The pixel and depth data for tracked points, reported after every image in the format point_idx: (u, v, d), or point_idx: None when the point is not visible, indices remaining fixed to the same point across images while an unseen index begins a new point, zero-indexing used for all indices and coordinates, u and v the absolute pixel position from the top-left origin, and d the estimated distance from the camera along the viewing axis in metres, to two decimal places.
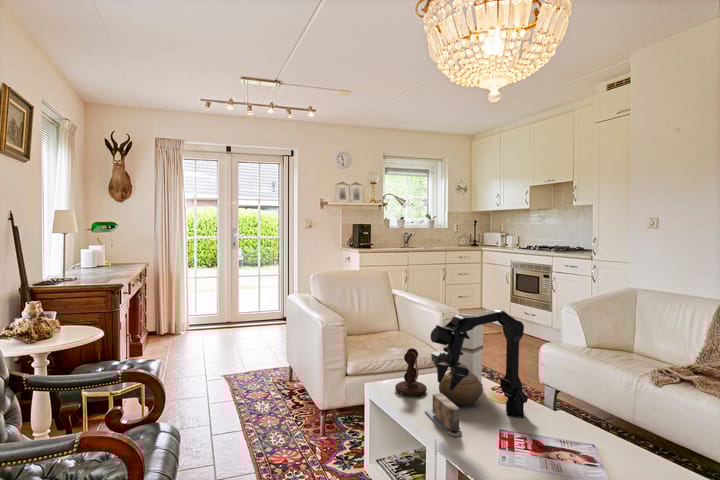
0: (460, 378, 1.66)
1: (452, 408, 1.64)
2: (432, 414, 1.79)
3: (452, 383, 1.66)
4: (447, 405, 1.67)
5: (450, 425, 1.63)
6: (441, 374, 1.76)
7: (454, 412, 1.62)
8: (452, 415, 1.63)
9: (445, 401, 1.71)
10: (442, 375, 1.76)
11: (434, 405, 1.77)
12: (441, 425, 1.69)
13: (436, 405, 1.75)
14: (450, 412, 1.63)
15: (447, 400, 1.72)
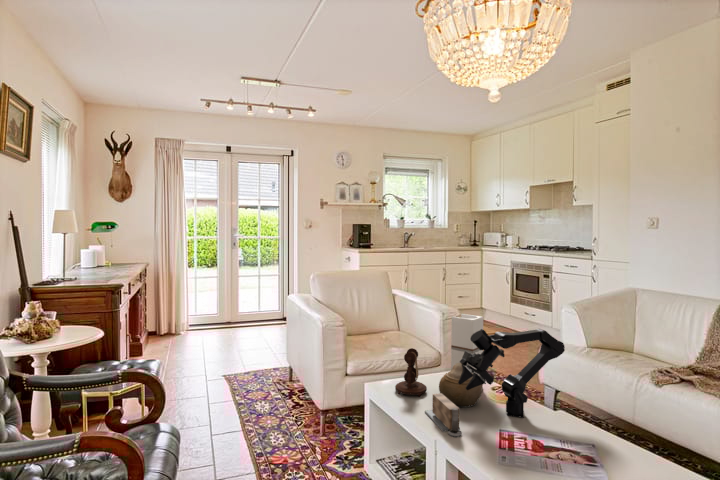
0: (480, 383, 1.72)
1: (452, 408, 1.64)
2: (432, 414, 1.79)
3: (471, 383, 1.72)
4: (447, 405, 1.67)
5: (450, 425, 1.63)
6: (464, 378, 1.80)
7: (454, 412, 1.62)
8: (452, 415, 1.63)
9: (445, 401, 1.71)
10: (464, 379, 1.80)
11: (434, 405, 1.77)
12: (441, 425, 1.69)
13: (436, 405, 1.75)
14: (450, 412, 1.63)
15: (447, 400, 1.72)
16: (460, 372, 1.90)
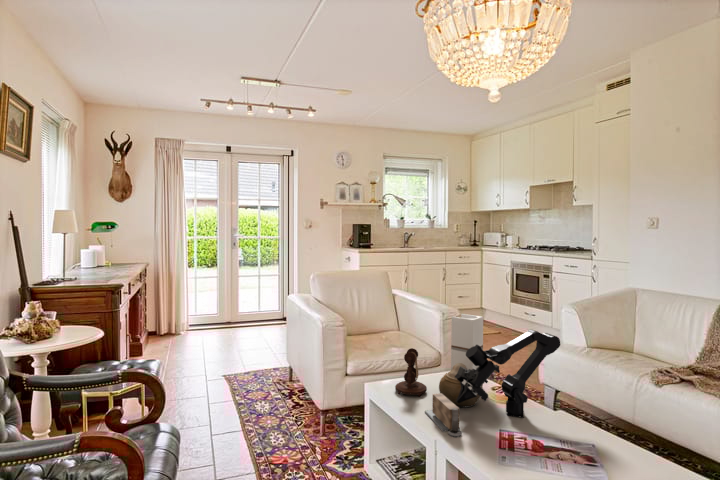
0: (471, 396, 1.75)
1: (452, 408, 1.64)
2: (432, 414, 1.79)
3: (462, 396, 1.75)
4: (447, 405, 1.67)
5: (450, 425, 1.63)
6: None
7: (454, 412, 1.62)
8: (452, 415, 1.63)
9: (445, 401, 1.71)
10: None
11: (434, 405, 1.77)
12: (441, 425, 1.69)
13: (436, 405, 1.75)
14: (450, 412, 1.63)
15: (447, 400, 1.72)
16: None
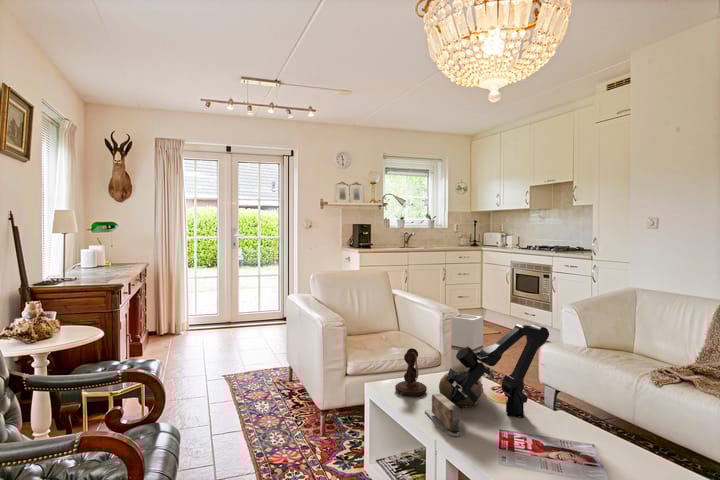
0: (461, 398, 1.74)
1: (452, 408, 1.64)
2: (432, 414, 1.79)
3: (452, 398, 1.74)
4: (447, 405, 1.67)
5: (450, 425, 1.63)
6: None
7: (454, 412, 1.62)
8: (452, 415, 1.63)
9: (445, 401, 1.71)
10: None
11: (433, 405, 1.77)
12: (441, 425, 1.69)
13: (435, 405, 1.75)
14: (450, 412, 1.63)
15: (446, 400, 1.72)
16: None
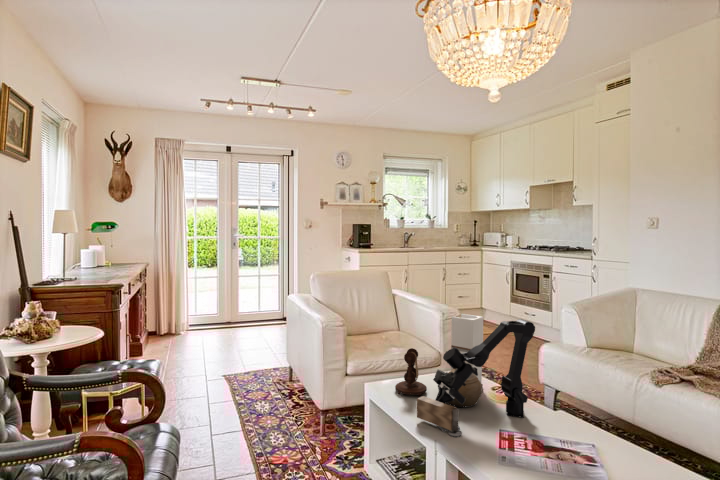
0: (449, 400, 1.72)
1: (451, 409, 1.64)
2: None
3: (439, 400, 1.72)
4: (444, 407, 1.65)
5: (451, 426, 1.63)
6: None
7: (456, 412, 1.62)
8: (453, 415, 1.62)
9: (437, 403, 1.69)
10: None
11: (420, 409, 1.73)
12: None
13: (424, 409, 1.71)
14: (451, 413, 1.62)
15: (437, 402, 1.70)
16: None
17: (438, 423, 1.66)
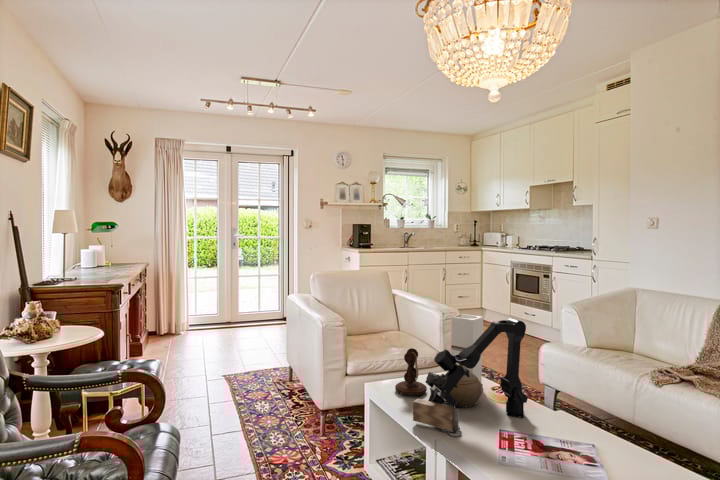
0: (440, 402, 1.71)
1: (451, 409, 1.63)
2: None
3: None
4: (443, 408, 1.64)
5: (452, 426, 1.62)
6: None
7: (456, 412, 1.62)
8: (454, 415, 1.62)
9: (435, 404, 1.67)
10: None
11: (416, 412, 1.70)
12: None
13: (421, 411, 1.69)
14: (452, 413, 1.62)
15: (434, 403, 1.69)
16: None
17: (437, 424, 1.65)
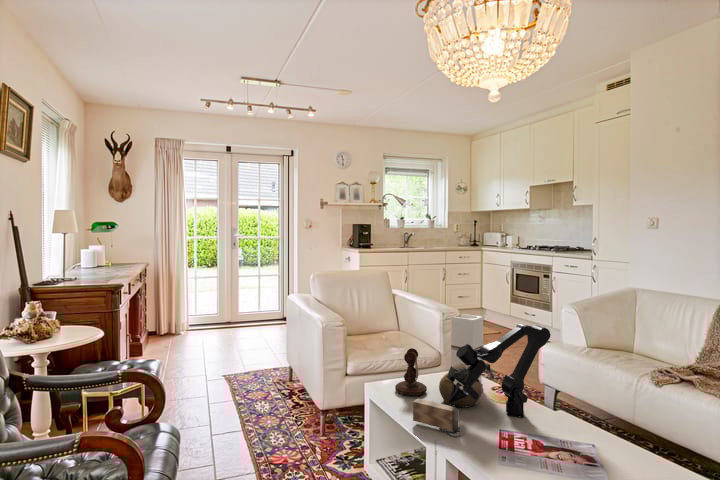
0: (462, 396, 1.74)
1: (451, 409, 1.63)
2: None
3: (453, 396, 1.74)
4: (443, 408, 1.64)
5: (452, 426, 1.62)
6: None
7: (456, 412, 1.62)
8: (454, 415, 1.62)
9: (435, 404, 1.67)
10: None
11: (416, 412, 1.70)
12: None
13: (421, 411, 1.69)
14: (452, 413, 1.62)
15: (434, 403, 1.69)
16: None
17: (437, 424, 1.65)
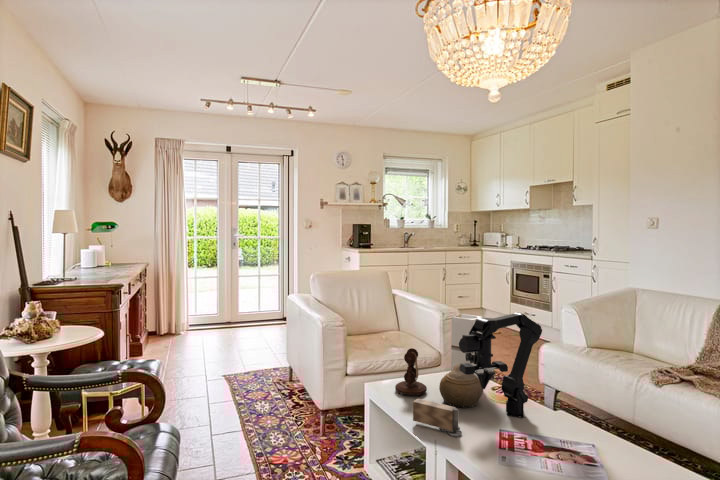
0: (481, 377, 1.73)
1: (451, 409, 1.63)
2: None
3: None
4: (443, 408, 1.64)
5: (452, 426, 1.62)
6: None
7: (456, 412, 1.62)
8: (454, 415, 1.62)
9: (435, 404, 1.67)
10: None
11: (416, 412, 1.70)
12: None
13: (421, 411, 1.69)
14: (452, 413, 1.62)
15: (434, 403, 1.69)
16: (461, 373, 1.89)
17: (437, 424, 1.65)
